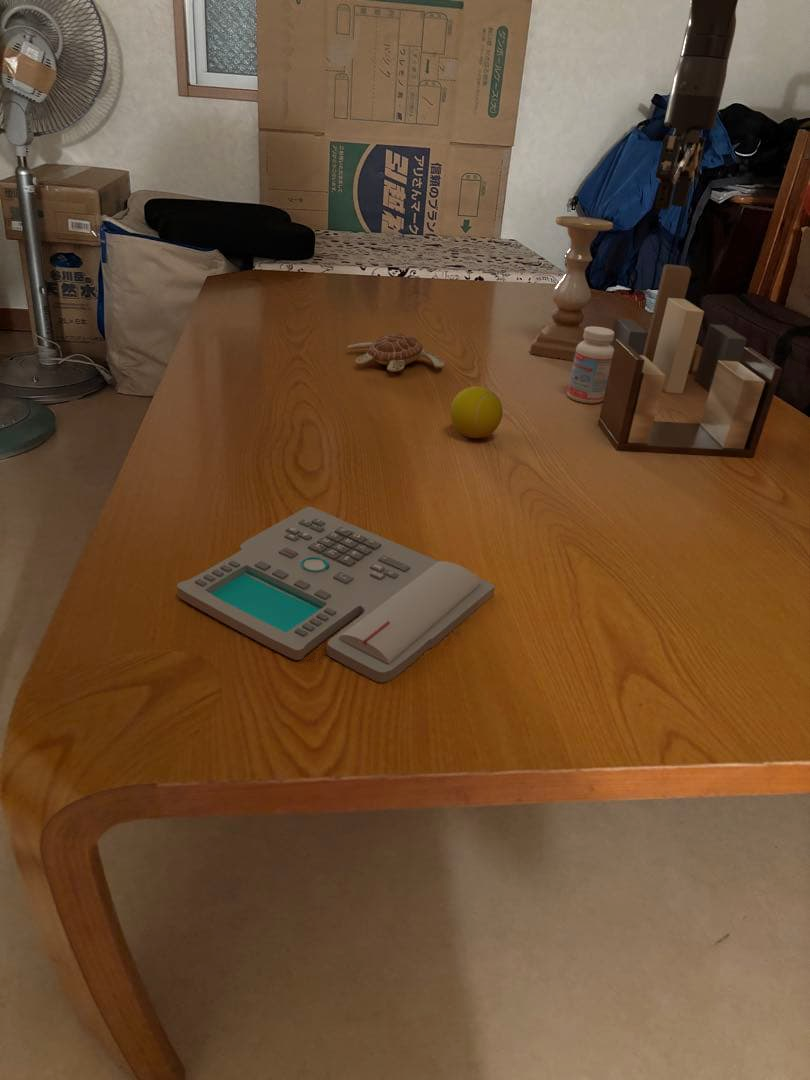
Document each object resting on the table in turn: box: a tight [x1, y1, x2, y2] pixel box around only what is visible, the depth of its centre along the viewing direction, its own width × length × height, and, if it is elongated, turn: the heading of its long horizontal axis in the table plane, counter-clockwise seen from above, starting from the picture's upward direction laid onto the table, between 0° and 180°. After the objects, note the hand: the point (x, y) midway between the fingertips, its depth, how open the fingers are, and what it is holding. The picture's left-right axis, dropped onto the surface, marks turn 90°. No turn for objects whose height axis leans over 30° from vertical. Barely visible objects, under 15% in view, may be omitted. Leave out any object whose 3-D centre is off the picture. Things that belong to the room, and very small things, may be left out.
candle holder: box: [529, 215, 614, 362], centre depth 145 cm, size 11×11×24 cm
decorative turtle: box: [346, 332, 445, 373], centre depth 135 cm, size 18×17×5 cm
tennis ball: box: [449, 385, 503, 439], centre depth 107 cm, size 7×7×7 cm
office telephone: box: [176, 505, 496, 683], centre depth 71 cm, size 23×3×20 cm
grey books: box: [610, 317, 748, 392], centre depth 135 cm, size 20×9×10 cm, turn 93°
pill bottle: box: [567, 325, 614, 405], centre depth 124 cm, size 6×6×11 cm
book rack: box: [597, 339, 783, 459], centre depth 110 cm, size 20×10×13 cm, turn 93°
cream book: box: [653, 298, 705, 394], centre depth 134 cm, size 3×9×14 cm, turn 3°
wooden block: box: [643, 263, 698, 374], centre depth 142 cm, size 9×4×18 cm, turn 77°
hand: (670, 207), depth 126 cm, fingers open, 8 cm apart
